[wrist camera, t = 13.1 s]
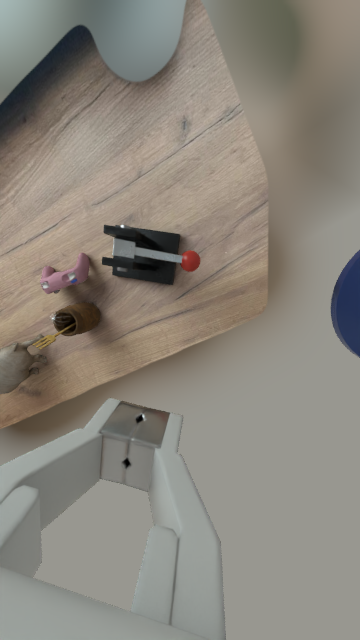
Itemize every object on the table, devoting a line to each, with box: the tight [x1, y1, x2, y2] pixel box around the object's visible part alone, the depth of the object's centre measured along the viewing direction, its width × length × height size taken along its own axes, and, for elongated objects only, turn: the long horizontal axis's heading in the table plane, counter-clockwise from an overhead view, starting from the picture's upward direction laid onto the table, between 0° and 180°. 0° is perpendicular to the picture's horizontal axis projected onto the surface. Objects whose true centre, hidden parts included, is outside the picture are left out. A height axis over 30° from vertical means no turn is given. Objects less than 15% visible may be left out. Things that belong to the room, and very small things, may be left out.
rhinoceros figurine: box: [0, 334, 47, 394], centre depth 42 cm, size 8×14×15 cm
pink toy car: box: [40, 253, 89, 294], centre depth 37 cm, size 10×5×7 cm
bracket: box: [102, 225, 180, 285], centre depth 31 cm, size 12×9×12 cm
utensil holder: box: [33, 302, 100, 350], centre depth 35 cm, size 6×6×12 cm
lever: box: [113, 238, 200, 272], centre depth 28 cm, size 13×3×3 cm, turn 82°
